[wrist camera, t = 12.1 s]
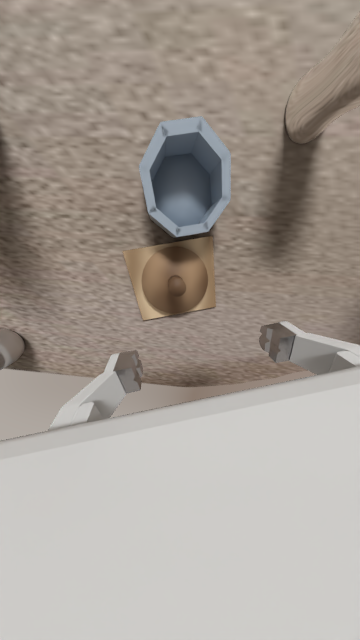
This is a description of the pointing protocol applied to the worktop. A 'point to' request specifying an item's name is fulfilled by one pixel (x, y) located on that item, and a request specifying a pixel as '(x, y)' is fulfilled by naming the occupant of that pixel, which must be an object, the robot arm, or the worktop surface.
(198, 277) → the lid
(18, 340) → the plastic bottle
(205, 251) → the tan flat square piece
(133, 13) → the worktop surface
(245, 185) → the worktop surface
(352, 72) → the beer glass
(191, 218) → the bowl
